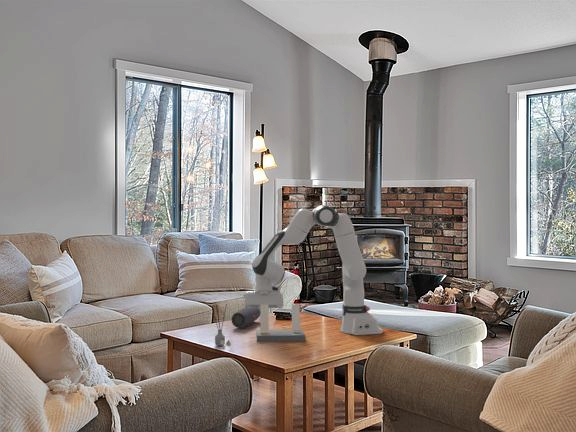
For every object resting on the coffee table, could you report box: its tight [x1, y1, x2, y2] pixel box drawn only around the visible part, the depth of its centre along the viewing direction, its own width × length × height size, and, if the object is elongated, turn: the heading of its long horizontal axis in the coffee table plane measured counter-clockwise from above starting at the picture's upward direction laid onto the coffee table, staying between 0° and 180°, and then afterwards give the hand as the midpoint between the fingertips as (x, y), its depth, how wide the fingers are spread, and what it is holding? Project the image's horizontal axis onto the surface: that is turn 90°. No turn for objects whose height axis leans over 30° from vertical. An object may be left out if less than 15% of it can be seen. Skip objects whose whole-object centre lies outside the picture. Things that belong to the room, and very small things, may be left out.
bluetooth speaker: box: [231, 307, 261, 328], centre depth 337 cm, size 23×9×10 cm, turn 162°
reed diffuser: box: [211, 304, 231, 346], centre depth 294 cm, size 10×7×20 cm
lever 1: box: [260, 304, 270, 331], centre depth 308 cm, size 4×2×14 cm, turn 94°
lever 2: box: [291, 303, 301, 331], centre depth 310 cm, size 4×2×14 cm, turn 94°
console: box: [255, 329, 306, 343], centre depth 307 cm, size 24×12×3 cm, turn 94°
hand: (263, 314), depth 310 cm, fingers closed, pressing on lever 1
